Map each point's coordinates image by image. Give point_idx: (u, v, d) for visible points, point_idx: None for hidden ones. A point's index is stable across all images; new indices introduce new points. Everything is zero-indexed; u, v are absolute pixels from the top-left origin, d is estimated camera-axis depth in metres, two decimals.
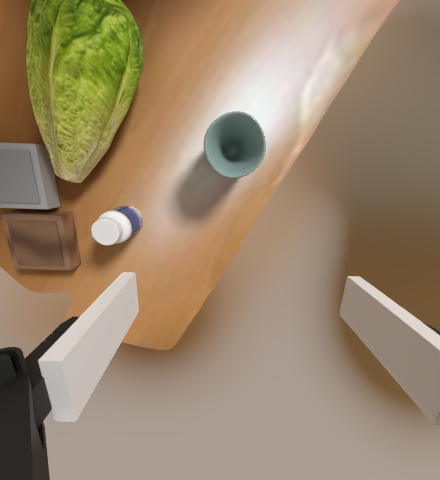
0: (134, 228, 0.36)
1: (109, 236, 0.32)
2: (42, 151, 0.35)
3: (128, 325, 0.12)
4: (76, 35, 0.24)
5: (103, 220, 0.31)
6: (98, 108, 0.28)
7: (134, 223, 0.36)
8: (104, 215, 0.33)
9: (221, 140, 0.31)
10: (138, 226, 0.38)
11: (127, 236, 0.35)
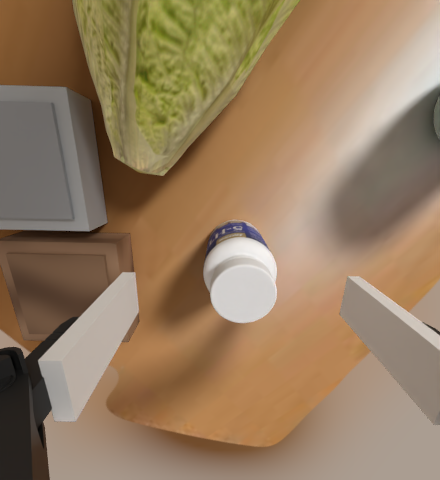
0: None
1: (252, 303, 0.13)
2: (79, 108, 0.16)
3: (128, 325, 0.12)
4: None
5: (245, 268, 0.12)
6: None
7: None
8: (227, 249, 0.14)
9: None
10: None
11: None
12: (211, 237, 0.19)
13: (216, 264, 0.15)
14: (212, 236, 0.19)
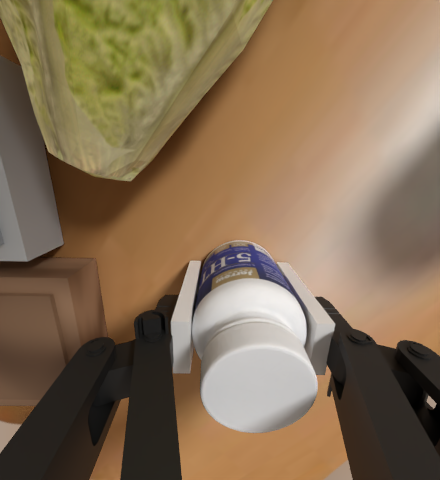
0: None
1: (273, 404, 0.08)
2: (4, 78, 0.11)
3: None
4: None
5: (263, 351, 0.07)
6: None
7: None
8: (230, 301, 0.09)
9: None
10: None
11: None
12: (205, 267, 0.13)
13: (212, 325, 0.09)
14: (207, 266, 0.13)
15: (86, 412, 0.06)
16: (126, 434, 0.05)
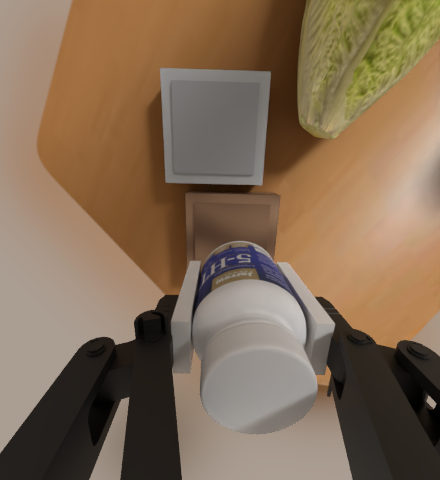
0: None
1: (273, 406, 0.08)
2: None
3: None
4: None
5: (263, 352, 0.07)
6: None
7: None
8: (230, 302, 0.09)
9: None
10: None
11: None
12: (205, 268, 0.13)
13: (212, 326, 0.09)
14: (207, 267, 0.13)
15: (86, 412, 0.06)
16: (126, 434, 0.05)
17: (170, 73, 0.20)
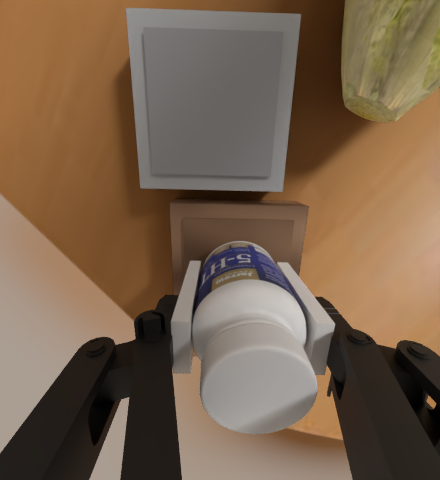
0: None
1: (273, 406, 0.08)
2: None
3: None
4: None
5: (263, 352, 0.07)
6: None
7: None
8: (230, 303, 0.09)
9: None
10: None
11: None
12: (205, 268, 0.13)
13: (212, 327, 0.09)
14: (207, 267, 0.13)
15: (86, 412, 0.06)
16: (126, 434, 0.05)
17: (142, 17, 0.13)
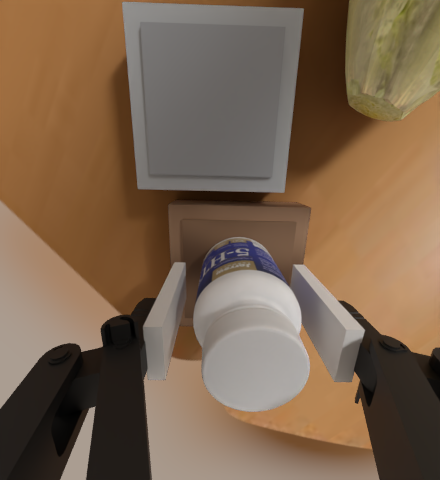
0: None
1: (269, 384, 0.08)
2: None
3: (182, 308, 0.14)
4: None
5: (259, 332, 0.07)
6: None
7: None
8: (229, 291, 0.10)
9: None
10: None
11: None
12: (206, 262, 0.14)
13: (212, 313, 0.10)
14: (207, 261, 0.14)
15: (48, 422, 0.06)
16: (91, 448, 0.05)
17: (139, 11, 0.12)
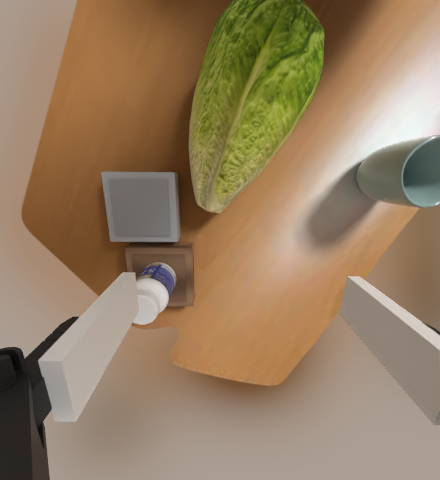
0: (170, 294, 0.30)
1: (145, 314, 0.26)
2: (176, 179, 0.32)
3: (128, 325, 0.12)
4: (284, 55, 0.21)
5: (139, 297, 0.25)
6: (276, 134, 0.25)
7: (170, 289, 0.30)
8: (137, 285, 0.27)
9: None
10: (173, 288, 0.32)
11: (164, 307, 0.29)
12: None
13: None
14: None
15: None
16: None
17: (108, 174, 0.30)
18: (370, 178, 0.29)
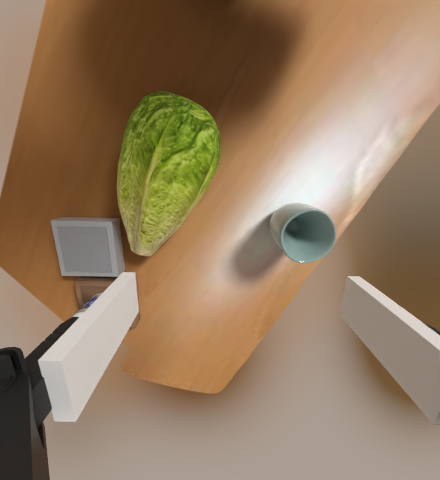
0: None
1: None
2: (115, 225, 0.38)
3: (128, 325, 0.12)
4: (175, 151, 0.27)
5: None
6: (182, 202, 0.31)
7: None
8: None
9: None
10: None
11: None
12: None
13: None
14: None
15: None
16: None
17: (56, 223, 0.36)
18: (271, 232, 0.35)
